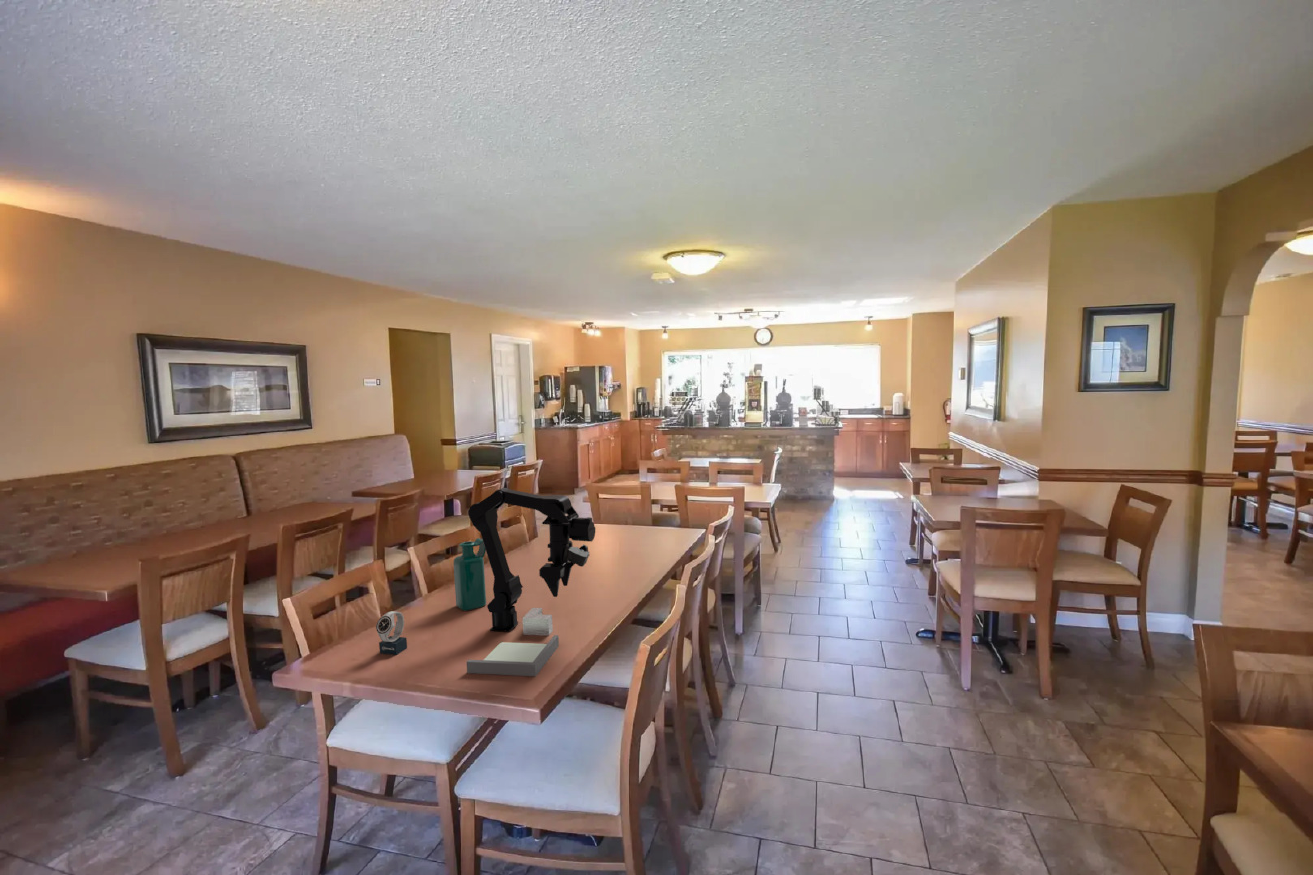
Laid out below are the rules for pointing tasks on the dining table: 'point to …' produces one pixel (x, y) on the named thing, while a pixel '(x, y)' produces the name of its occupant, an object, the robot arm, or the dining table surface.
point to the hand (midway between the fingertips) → (560, 591)
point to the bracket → (537, 623)
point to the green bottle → (470, 576)
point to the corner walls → (514, 663)
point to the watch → (384, 627)
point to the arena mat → (515, 652)
